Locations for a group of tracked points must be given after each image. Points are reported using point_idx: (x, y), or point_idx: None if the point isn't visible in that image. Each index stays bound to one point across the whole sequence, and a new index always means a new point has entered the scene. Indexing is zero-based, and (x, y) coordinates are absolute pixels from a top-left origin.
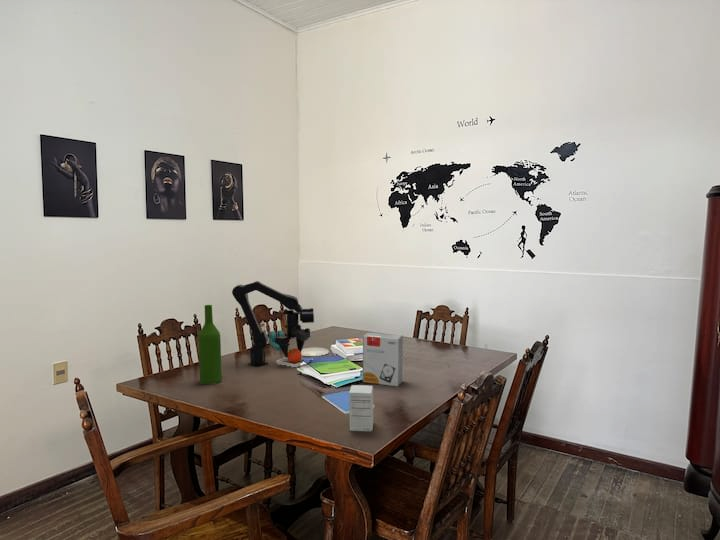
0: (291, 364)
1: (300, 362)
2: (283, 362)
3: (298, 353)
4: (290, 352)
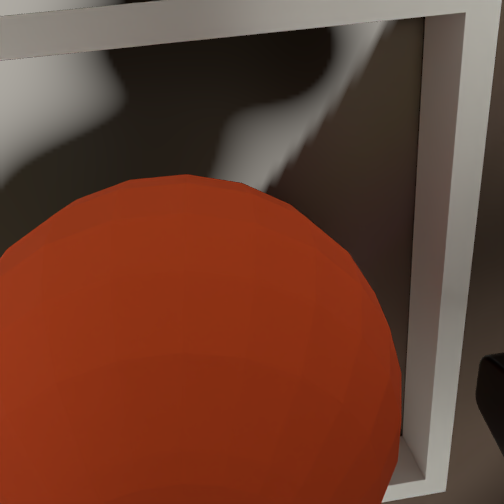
0: (484, 97)
1: (251, 7)
2: (461, 335)
3: (174, 268)
4: (387, 474)
